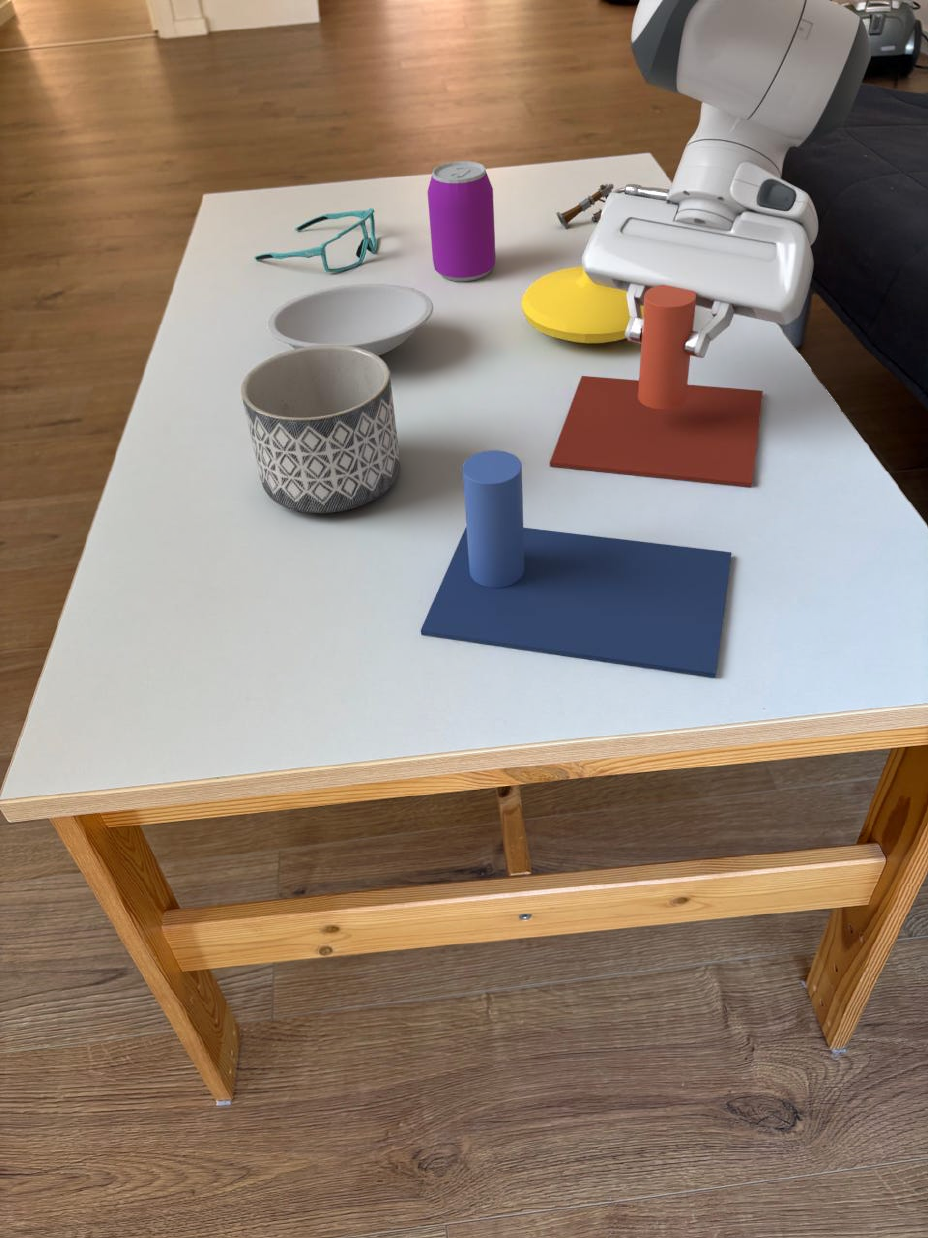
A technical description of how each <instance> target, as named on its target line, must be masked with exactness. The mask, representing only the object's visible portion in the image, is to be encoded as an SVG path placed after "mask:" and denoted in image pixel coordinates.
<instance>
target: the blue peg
mask: <svg viewBox="0 0 928 1238" xmlns="http://www.w3.org/2000/svg"><path fill="white" fill-rule="evenodd" d="M462 482H463V497H464V510H465V511H464V512H465V528H466V527H467V542H468V556H469V570H470V575H471V577H472V579H473V580H474V581H475V582H476V583H478V584H480V585H482V586H485V587H490V588H502V587H507V586H510V585H512V584H514V583H516V582H517V581H518V580H519V579H520V578H521V577H522V575H523V573H524V537H523V528H524V499H523V498H524V497H523V496H524V495H523V465H522V462H521V460H520V458H518V457H517V456H516V455H515V454H513V453H510V452H507V451H503V450H497V449H495V450H494V449H493V450H484V451H480V452H477V453H474V454H473V455H471V456H469V457H467V459H466V460H465V461H464V462H463V464H462Z"/></svg>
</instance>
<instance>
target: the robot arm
mask: <svg viewBox="0 0 928 1238" xmlns="http://www.w3.org/2000/svg"><path fill="white" fill-rule="evenodd" d="M629 46H630V49H631V53H632V56H633V59H634V61H635V63H636V66H637V68H638V70H639V72H640V74H641V77H642V78H643V80H644V82H645V83H646V84H647V85H649V86H653V87H656V88H659V89H662V90H665V91H668V92H671V93H675V94H677V95H680V94H681V95H685V96H687V97H690V98H692V99H694V100H697V101H699V102H701V107H700V116H699V123H698V126H697V128H696V130H695V131H694V134H693V135H692V136H691V138H690V139H689V140H688V142H687V143H686V145H685V147H684V150H683V153H682V155H681V158H680V161H679V164H678V166H677V169H676V172H675V174H674V177H673V180H672V182H671V185H670V188H669V189H667V188H662V187H654V186H653V187H651V186H650V187H649V186H642V185H640V184H637V183H628V184H626V185H625V186H624V187H620V188H617V189H615V190H614V191H612V192H611V193H609V196H608V197H607V199H606V198H605V201H606V202H605V203H604V204H603V208H602V209H601V210H602V213H601V218H600V220H599V221H598V222H597V224H596V226H595V227H594V230H593V232H592V233H591V235H590V237H589V240H588V241H587V244H586V246H585V248H584V251H583V253H582V256H581V259H580V260H581V266H583V269H584V271H585V273H586V274H587V276H588V277H589V278H590V280H591V281H592V282H593V283H595V284H597V285H601V286H606V287H610V288H615V289H620V290H624V291H628V292H627V295H626V297H627V303H628V308H629V314H630V317H631V318H630V320H629V323H628V326H627V329H626V331H625V337H626V338H625V339H627V341H628V342H631V343H632V342H633V343H637V344H640V345H641V342H642V326H643V319H642V314H641V307H640V306H641V305H642V306H644V296H645V293H646V291H648V290H649V289H650V288H653V287H655V286H659V285H667V286H672V287H677V288H681V289H686V290H691V291H694V292H695V294H696V305H695V307H699V308H703V309H708V310H710V314H711V316H712V318H711V320H710V321H708V322H707V324H705V325H704V326H703V327H702V328H701V329H700V330H699V331H697V330H693V331H692V330H691V332H690V334H689V336H688V339H689V340H688V341H687V342H686V344H685V348H684V350H685V352H686V354H687V355H690V357H695V358H699V359H704V358H705V357H706V354H707V352H708V348H709V346H710V344H711V341H714V340H715V339H716V338H717V337H718V336H719V335H721V334H722V333H723V332H724V331H725V330H726V329H728V327H730V326H731V323H732V320H733V318H734V315H737V316H741V317H746V318H750V319H756V320H758V321H759V320H760V321H764V322H769V323H770V322H771V323H773V324H774V323H775V324H778V325H783V326H786V325H789V324H790V323H792V322H794V321H795V320H796V319H798V318H799V317H800V315H801V313H802V311H803V309H804V305H805V302H806V299H807V296H808V293H809V290H810V285H811V283H812V276H813V273H814V265H815V263H814V261H815V260H814V256H813V252H812V247H811V246H812V245H813V244H814V243H815V241H816V239H817V236H818V232H819V219H818V214H817V211H816V208H815V205H814V203H813V200H812V199H811V197H810V195H809V194H808V193H807V192H806V191H805V190H803V189H801V188H799V187H798V186H795V185H793V184H791V183H789V182H788V181H786V180H784V179H782V176H783V166H784V161H785V159H786V156H787V154H788V152H789V149H790V148H793V147H796V148H797V149H798V148H802V147H804V146H807V145H809V144H812V143H814V142H815V141H817V140H819V139H821V138H823V137H826V136H828V135H830V134H833V133H834V132H836V131H837V130H838V129H839V128H840V127H841V126H842V125H843V123H844V122H845V120H846V119H847V117H848V115H849V113H850V111H851V108H852V107H853V105H854V102H855V99H856V97H857V95H858V93H859V90H860V88H861V84H862V82H863V81H864V80H863V79H864V77H865V74H866V71H867V70H868V66H869V64H870V61H871V58H872V55H871V45H870V39H869V35H868V30H867V28H866V25H865V22H864V20H863V18H862V16H859V15H858V14H856V13H855V12H853V11H852V10H851V9H849V8H847V7H845V6H843V5H841V4H839V3H836V2H834V1H832V0H639V2H638V4H637V7H636V9H635V13H634V17H633V21H632V26H631V34H630V39H629Z"/></svg>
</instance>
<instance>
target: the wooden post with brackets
mask: <svg viewBox="0 0 928 1238" xmlns="http://www.w3.org/2000/svg"><path fill="white" fill-rule="evenodd" d="M614 186H615V185H614V184H613V183H605V184H601V185H599V188H598V189H597V191H596V192H594V193H593V194H592V195H589V196H587V197H585V198H584V199H583V200H582V201H580V202H578V204H577V205H575V206H574V207H572V208H570V209H568V210H566V211H564V212H560V211H557V212H555V214H556V216H557V219H558V221H559V223H560V225H561V226H562V227H563V228H564V229H565V230H566V229H568V227H569V226H568V224H569V223H570V222H571V221H572V220H573V219H575V218H576V217H577V216H578V215H579V214H580V213H582V212H585V211H587V210H588V209H590V208H592V206H595V205H596V203H597V202H598V201H599V202H602V203H604V204H605V202H606V199H607V197H608V196H609V194H610V193H612V192H613V191H612V190H613V189H614ZM602 198H605V200H604V199H602ZM602 210H603V209H601V208H599V211H596V212H595V213H592V215H593V216H592V217H591V222H593V223H594V222H597V223H598V222H599V220H600V218H601V213H602Z"/></svg>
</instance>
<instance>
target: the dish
mask: <svg viewBox="0 0 928 1238" xmlns="http://www.w3.org/2000/svg"><path fill="white" fill-rule="evenodd" d="M433 312H434V304H433V301H432V299H431V298H430V297H429V296H428V295H426V294H425V293H424V292H421V291H420V290H418V289H414V288H411V287H408V286H403V285H397V284H390V283H357V284H356V283H354V284H346V285H340V286H339V285H338V286H333V287H327V288H323V289H318V290H315V291H312V292H308V293H305V294H302V295H300V296H298V297H295V298H293V299H290V300H289V301H287V302H284V303H283V304H281V305H280V306H278V307H277V308H276V309H275V310H274V311H273V312H272V313H271V314H270V315H269V317H268V319H267V321H266V325H267V326H266V327H267V330H268V332H269V334H270V335H271V336H272V337H273V338H274V339H276V340H277V341H279V342H281V343H284V344H287V345H289V346H291V347H292V348H293V349H298V348H303V347H309V346H317V345H344V346H351V347H356V348H360V349H364V350H367V351H369V352H371V353H373V354H375V355H377V356H378V357H380V356H381V355H384V354H386V353H388V352H391V351H392V350H394V349H396V348H397V347H399V346H401V345H402V344H403V343H404V342H406V341H407V340H408V339H409V338H410V337H411V336H412V335H413V334H414V333H415V332H416V331H417V330H418V328H420V327H422V326H423V325H424V324H425V323H426V322H427V321H428V320H429V319H430V318H431V316H432V315H433Z"/></svg>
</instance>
